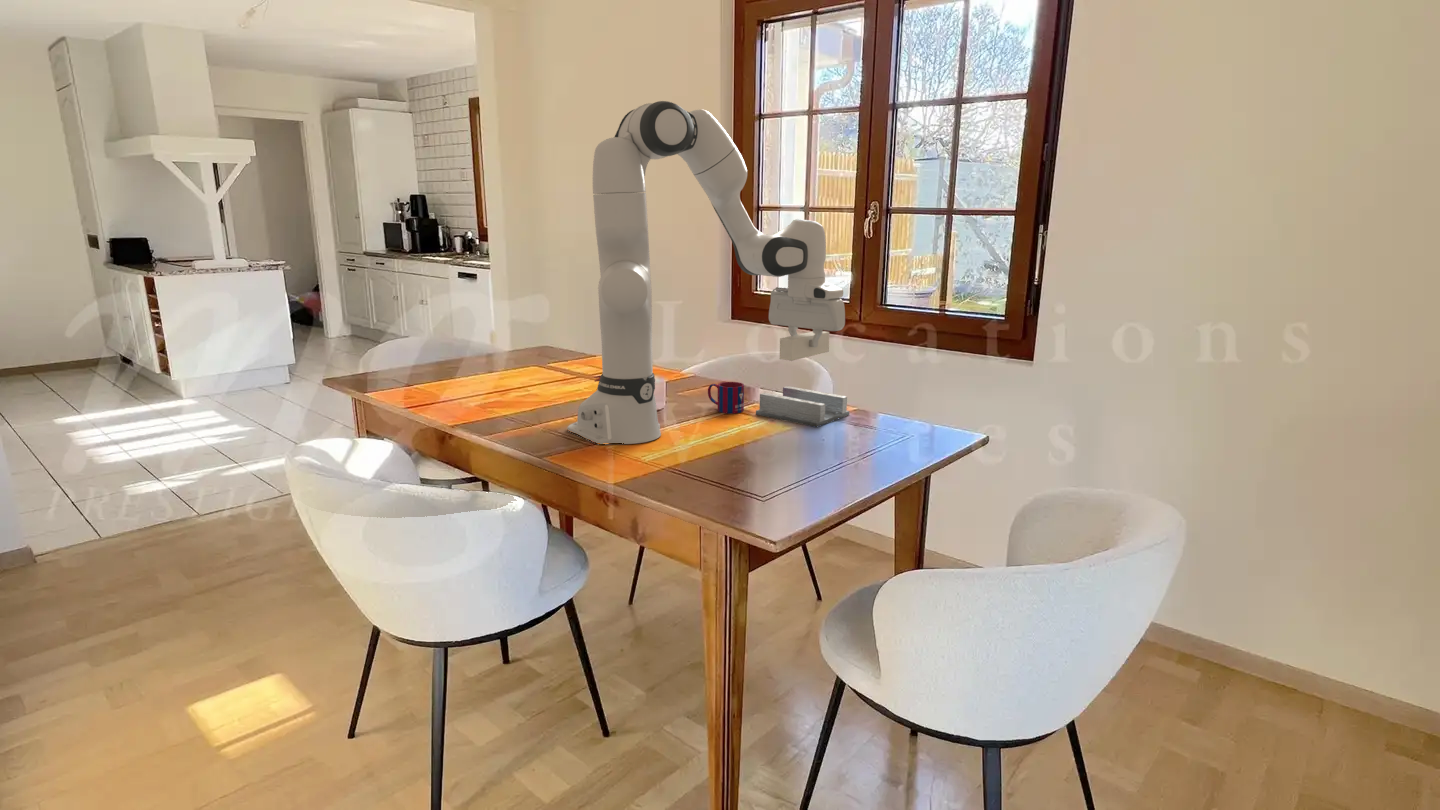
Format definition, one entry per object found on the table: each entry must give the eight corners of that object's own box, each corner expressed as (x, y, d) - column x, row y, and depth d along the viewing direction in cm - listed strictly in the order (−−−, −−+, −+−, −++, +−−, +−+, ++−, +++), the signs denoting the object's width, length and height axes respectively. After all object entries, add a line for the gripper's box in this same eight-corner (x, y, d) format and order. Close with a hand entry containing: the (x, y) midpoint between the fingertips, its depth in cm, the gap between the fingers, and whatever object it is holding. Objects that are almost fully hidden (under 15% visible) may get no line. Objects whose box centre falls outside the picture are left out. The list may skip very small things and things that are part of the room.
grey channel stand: (755, 414, 195) (756, 394, 194) (790, 403, 206) (790, 385, 205) (816, 427, 184) (817, 406, 183) (849, 414, 195) (850, 395, 194)
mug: (733, 415, 194) (733, 388, 193) (702, 409, 200) (702, 383, 199) (748, 410, 200) (749, 384, 198) (718, 404, 206) (718, 378, 204)
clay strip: (779, 359, 186) (779, 338, 185) (817, 350, 198) (817, 330, 197) (791, 360, 184) (791, 339, 183) (828, 351, 196) (829, 331, 195)
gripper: (763, 287, 191) (763, 343, 195) (835, 292, 178) (833, 352, 182) (778, 285, 196) (778, 339, 199) (849, 290, 183) (847, 348, 187)
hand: (804, 345), depth 190 cm, fingers closed on clay strip, 3 cm apart
